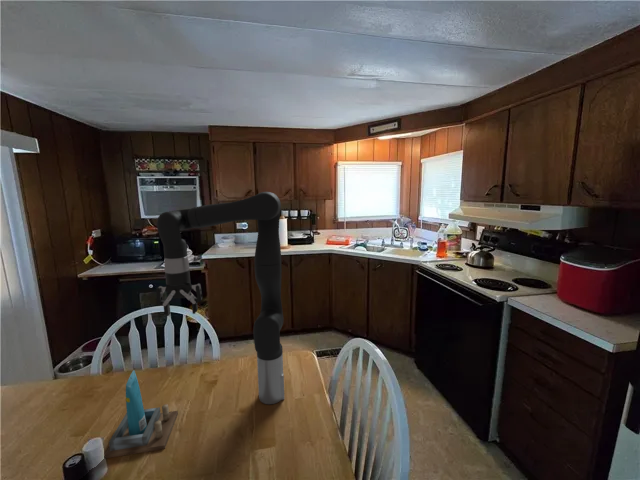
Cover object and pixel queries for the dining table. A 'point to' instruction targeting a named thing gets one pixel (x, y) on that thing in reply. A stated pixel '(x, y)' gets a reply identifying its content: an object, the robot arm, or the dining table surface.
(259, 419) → the dining table surface
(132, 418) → the tube
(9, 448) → the dining table surface
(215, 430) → the dining table surface
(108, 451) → the socket board
